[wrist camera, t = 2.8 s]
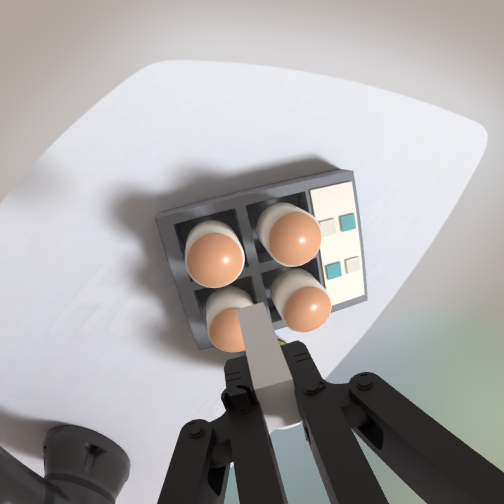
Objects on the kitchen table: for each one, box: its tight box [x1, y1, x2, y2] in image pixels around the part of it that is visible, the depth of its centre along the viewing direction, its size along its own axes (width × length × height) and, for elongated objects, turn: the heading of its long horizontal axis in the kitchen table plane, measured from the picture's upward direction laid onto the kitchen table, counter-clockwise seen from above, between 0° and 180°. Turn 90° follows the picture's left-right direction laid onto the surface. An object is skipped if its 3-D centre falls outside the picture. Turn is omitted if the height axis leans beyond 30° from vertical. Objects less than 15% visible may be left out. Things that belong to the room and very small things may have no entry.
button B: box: [185, 220, 245, 288], centre depth 29 cm, size 5×5×5 cm
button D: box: [257, 202, 322, 267], centre depth 30 cm, size 5×5×5 cm
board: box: [155, 169, 368, 350], centre depth 34 cm, size 20×15×3 cm
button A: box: [205, 286, 254, 352], centre depth 31 cm, size 5×5×5 cm
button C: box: [271, 268, 332, 332], centre depth 32 cm, size 5×5×5 cm
